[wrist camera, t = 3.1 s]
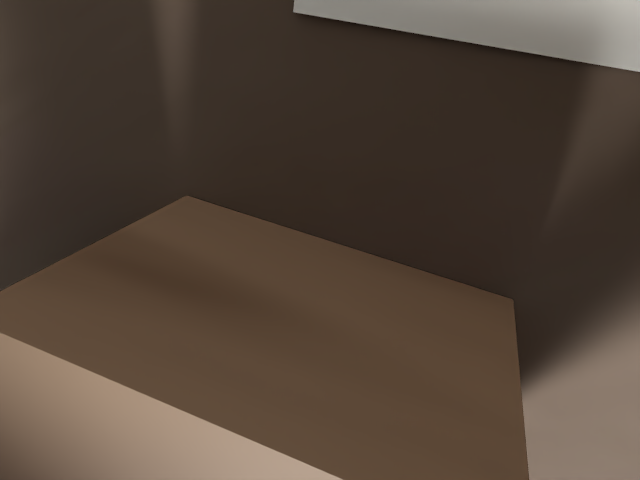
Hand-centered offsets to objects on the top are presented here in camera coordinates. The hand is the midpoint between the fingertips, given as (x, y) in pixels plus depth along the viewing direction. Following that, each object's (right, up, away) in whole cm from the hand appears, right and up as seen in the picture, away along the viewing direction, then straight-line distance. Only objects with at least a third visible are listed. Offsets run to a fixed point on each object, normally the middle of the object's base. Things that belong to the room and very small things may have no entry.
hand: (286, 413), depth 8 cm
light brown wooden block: (0, 0, +1) cm, 1 cm away
